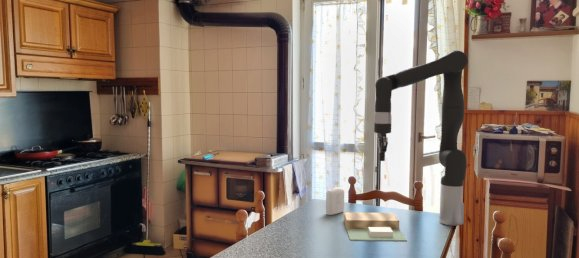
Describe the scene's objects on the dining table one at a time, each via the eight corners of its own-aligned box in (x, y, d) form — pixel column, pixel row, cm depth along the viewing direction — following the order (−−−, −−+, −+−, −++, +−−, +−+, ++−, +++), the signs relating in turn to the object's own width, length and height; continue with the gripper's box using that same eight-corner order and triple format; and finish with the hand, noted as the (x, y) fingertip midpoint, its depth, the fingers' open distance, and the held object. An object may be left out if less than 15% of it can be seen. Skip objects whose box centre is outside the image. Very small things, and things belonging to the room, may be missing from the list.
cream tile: (393, 231, 173) (393, 236, 173) (390, 227, 179) (390, 231, 179) (370, 231, 173) (370, 236, 173) (368, 226, 179) (368, 231, 179)
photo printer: (338, 210, 213) (338, 185, 212) (345, 211, 210) (345, 186, 209) (324, 214, 206) (324, 188, 205) (331, 216, 203) (331, 189, 202)
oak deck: (393, 221, 194) (393, 212, 194) (399, 230, 182) (399, 220, 182) (343, 221, 195) (344, 212, 195) (346, 229, 183) (346, 220, 183)
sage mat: (399, 230, 182) (399, 229, 182) (406, 241, 169) (406, 240, 169) (346, 229, 183) (346, 228, 183) (350, 240, 170) (350, 239, 170)
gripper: (394, 123, 187) (393, 163, 189) (388, 121, 200) (387, 158, 202) (376, 123, 187) (376, 163, 189) (371, 121, 200) (371, 158, 202)
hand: (382, 160), depth 195 cm, fingers closed
